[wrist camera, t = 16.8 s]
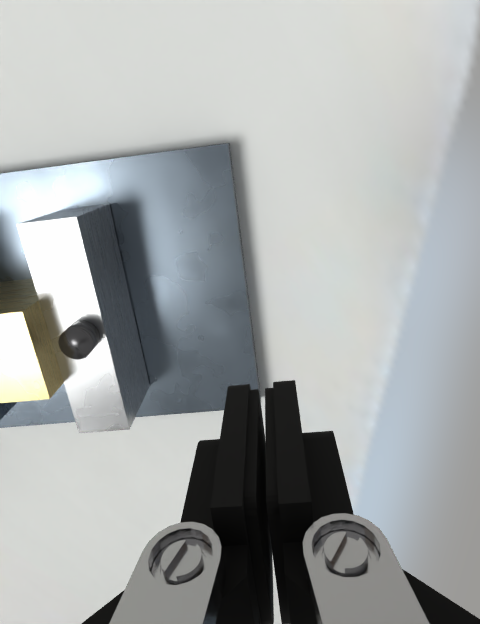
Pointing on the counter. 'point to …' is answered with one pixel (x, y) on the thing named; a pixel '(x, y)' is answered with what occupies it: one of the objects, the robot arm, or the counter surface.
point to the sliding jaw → (88, 314)
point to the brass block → (25, 346)
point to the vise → (154, 270)
